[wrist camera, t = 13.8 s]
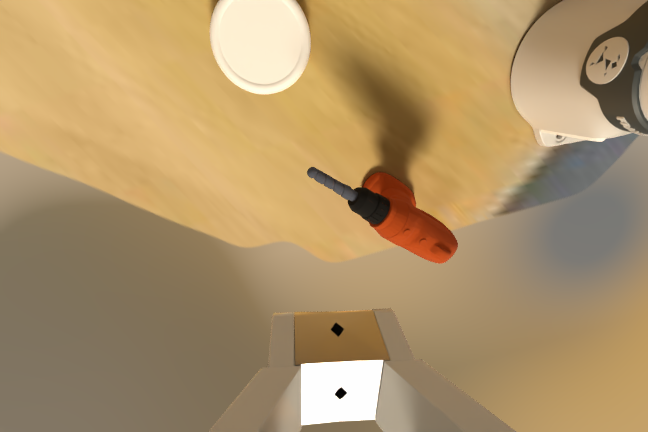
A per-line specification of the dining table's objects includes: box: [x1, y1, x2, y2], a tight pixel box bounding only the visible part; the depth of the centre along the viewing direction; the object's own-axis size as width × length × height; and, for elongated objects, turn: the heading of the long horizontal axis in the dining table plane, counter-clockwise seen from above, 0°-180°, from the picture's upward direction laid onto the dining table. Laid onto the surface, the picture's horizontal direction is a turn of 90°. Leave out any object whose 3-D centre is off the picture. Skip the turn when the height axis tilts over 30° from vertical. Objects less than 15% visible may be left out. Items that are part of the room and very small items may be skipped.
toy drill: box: [307, 167, 458, 263], centre depth 34 cm, size 5×19×15 cm, turn 56°
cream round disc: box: [210, 0, 311, 94], centre depth 33 cm, size 10×10×4 cm
